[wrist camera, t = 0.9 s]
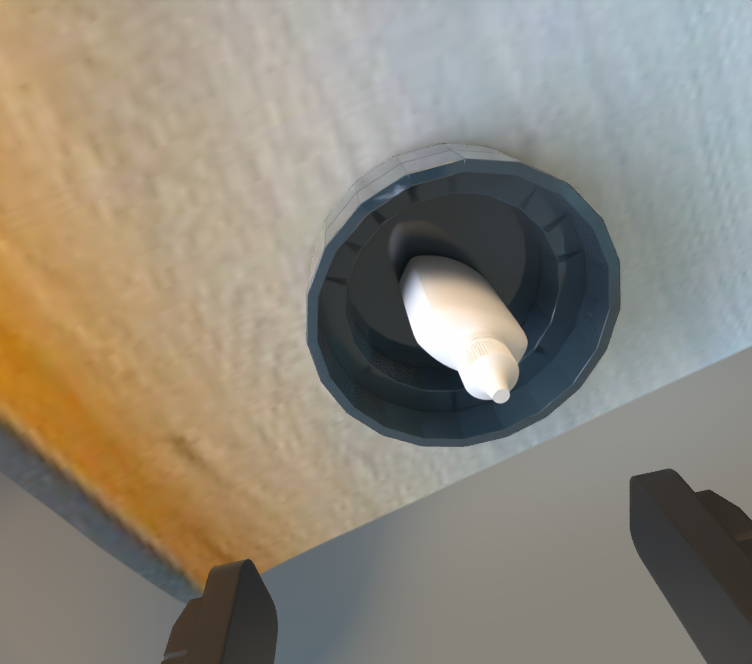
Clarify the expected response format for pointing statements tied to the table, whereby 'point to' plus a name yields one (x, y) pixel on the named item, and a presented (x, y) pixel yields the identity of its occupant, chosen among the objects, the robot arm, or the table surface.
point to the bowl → (483, 254)
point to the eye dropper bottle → (463, 324)
